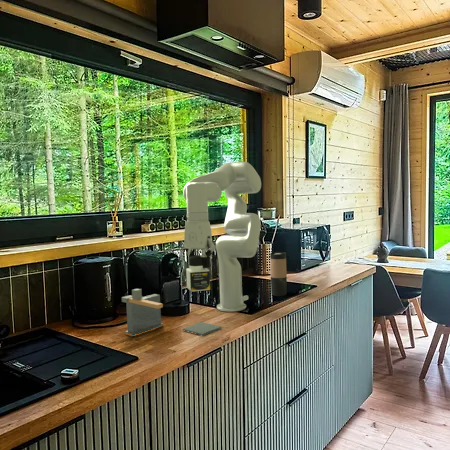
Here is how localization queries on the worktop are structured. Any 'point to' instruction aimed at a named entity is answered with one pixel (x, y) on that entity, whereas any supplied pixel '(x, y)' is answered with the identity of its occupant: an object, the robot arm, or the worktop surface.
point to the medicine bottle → (197, 274)
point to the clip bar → (140, 299)
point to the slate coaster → (202, 328)
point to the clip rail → (143, 316)
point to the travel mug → (278, 273)
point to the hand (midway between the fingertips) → (199, 266)
